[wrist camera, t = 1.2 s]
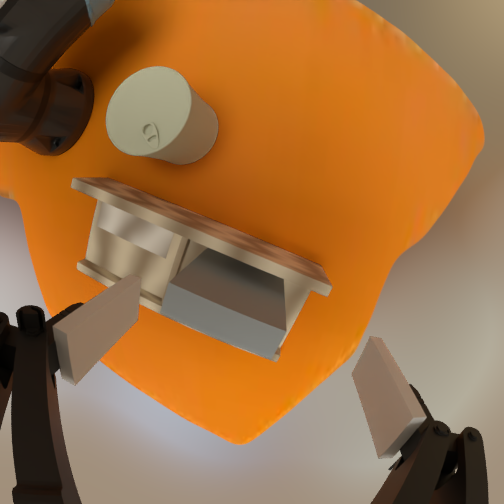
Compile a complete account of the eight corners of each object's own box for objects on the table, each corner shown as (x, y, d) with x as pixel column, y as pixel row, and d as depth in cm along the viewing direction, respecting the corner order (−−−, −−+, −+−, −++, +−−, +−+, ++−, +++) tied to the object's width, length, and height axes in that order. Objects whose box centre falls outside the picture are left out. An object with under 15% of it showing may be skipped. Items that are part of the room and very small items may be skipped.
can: (163, 175, 34) (114, 172, 22) (145, 115, 32) (95, 93, 21) (228, 148, 33) (203, 129, 21) (206, 87, 31) (175, 48, 19)
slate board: (202, 266, 35) (159, 312, 22) (209, 245, 35) (168, 282, 21) (273, 296, 35) (271, 359, 22) (283, 276, 35) (286, 331, 21)
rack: (87, 263, 38) (56, 279, 30) (107, 177, 35) (73, 177, 27) (276, 350, 38) (275, 385, 31) (321, 265, 35) (332, 286, 27)
